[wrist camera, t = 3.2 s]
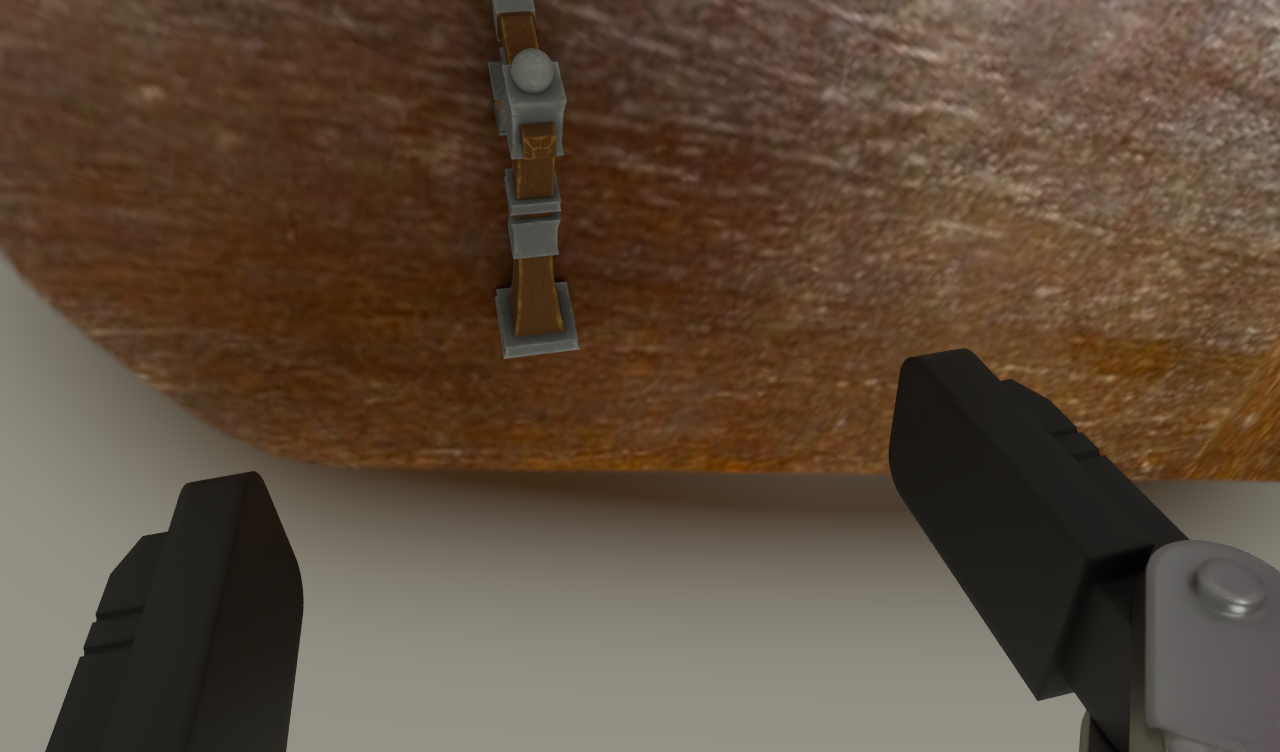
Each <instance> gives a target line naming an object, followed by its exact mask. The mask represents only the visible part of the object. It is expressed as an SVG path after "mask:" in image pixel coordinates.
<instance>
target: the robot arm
mask: <svg viewBox="0 0 1280 752" xmlns="http://www.w3.org/2000/svg"><path fill="white" fill-rule="evenodd" d="M1076 428H1077V427H1076V426H1075V425H1074V424H1073V423H1072V422H1071V421H1070V420H1069V419H1068V418H1067V417H1066V416H1065V415H1064V414H1063V413H1062V412H1061V411H1060V410H1059V409H1058V408H1057V407H1056V406H1055V405H1054V404H1053V403H1052V402H1051V401H1050V400H1049V399H1047V398H1045V397H1043V396H1041V395H1039V394H1038V393H1036V392H1034V391H1032V390H1030V389H1028V388H1027V387H1025V386H1023V385H1021V384H1019V383H1017V382H1016V381H1014V380H1012V379H1009V380H1004V381H1000V380H999V379H998V378H997V377H996V376H995V375H994V374H993V373H992V372H991V371H990V370H989V369H988V368H987V367H986V365H985V364H984V363H983V362H982V361H981V360H980V359H979V358H978V357H977V356H976V355H975V354H974V353H973V352H972V351H970V350H968V349H965V348H961V349H955V350H949V351H944V352H938V353H932V354H927V355H921V356H915V357H910V358H908V359H906V360H905V361H904V363H903V365H902V367H901V370H900V375H899V382H898V389H897V396H896V403H895V409H894V416H893V423H892V430H891V437H890V443H889V464H890V470H891V474H892V478H893V481H894V484H895V486H896V488H897V491H898V492H899V494H900V496H901V497H902V499H903V501H904V502H905V504H906V505H907V507H908V508H909V510H910V511H911V513H912V514H913V516H914V517H915V519H916V520H917V521H918V523H919V524H920V526H921V527H922V529H923V530H924V532H925V533H926V535H927V536H928V538H929V539H930V541H931V542H932V544H933V545H934V547H935V548H936V550H937V551H938V553H939V554H940V556H941V557H942V559H943V560H944V562H945V563H946V565H947V566H948V568H949V569H950V571H951V572H952V574H953V575H954V577H955V578H956V580H957V581H958V583H959V584H960V586H961V587H962V589H963V590H964V592H965V593H966V595H967V596H968V597H969V599H970V601H971V602H972V604H973V605H974V607H975V608H976V610H977V611H978V613H979V614H980V616H981V617H982V619H983V620H984V622H985V623H986V625H987V626H988V627H989V629H990V631H991V632H992V634H993V635H994V637H995V638H996V639H997V641H998V643H999V644H1000V646H1001V647H1002V648H1003V650H1004V652H1005V653H1006V655H1007V656H1008V658H1009V659H1010V661H1011V662H1012V664H1013V665H1014V666H1015V668H1016V670H1017V671H1018V673H1019V674H1020V676H1021V677H1022V679H1023V680H1024V682H1025V683H1026V684H1027V686H1028V688H1029V689H1030V690H1031V692H1032V693H1033V695H1034V696H1035V698H1036V699H1037V701H1040V700H1044V699H1048V698H1052V697H1056V696H1061V695H1065V694H1069V693H1072V692H1075V694H1076V695H1077V697H1078V698H1079V699H1080V701H1081V702H1082V703H1083V705H1084V706H1085V708H1086V709H1087V710H1086V712H1085V715H1084V717H1083V720H1082V725H1081V731H1080V746H1079V747H1080V748H1079V752H1280V572H1279V571H1278V570H1276V569H1275V568H1274V567H1272V566H1270V565H1269V564H1268V563H1266V562H1264V561H1263V560H1261V559H1259V558H1257V557H1255V556H1253V555H1251V554H1250V553H1247V552H1245V551H1242V550H1240V549H1237V548H1235V547H1231V546H1228V545H1225V544H1221V543H1216V542H1210V541H1202V540H1189V539H1188V538H1187V537H1186V536H1185V535H1184V534H1183V533H1182V532H1181V531H1180V530H1179V529H1178V528H1177V527H1176V526H1175V525H1174V524H1173V523H1172V522H1171V521H1170V520H1169V519H1168V518H1167V517H1166V516H1165V515H1164V514H1163V513H1162V512H1161V511H1160V510H1159V509H1158V508H1157V507H1156V506H1155V505H1154V504H1153V503H1152V502H1151V501H1150V500H1149V499H1148V498H1147V497H1146V496H1145V495H1144V494H1143V493H1142V492H1141V491H1140V490H1139V489H1138V488H1137V487H1136V486H1135V485H1134V484H1133V483H1132V482H1131V481H1130V480H1129V479H1128V478H1127V477H1126V476H1125V475H1124V474H1123V473H1122V472H1121V471H1120V470H1119V469H1118V468H1117V467H1116V466H1115V465H1114V464H1113V463H1112V462H1111V461H1110V460H1109V459H1108V458H1107V457H1106V456H1105V455H1103V456H1101V455H1100V454H1099V449H1098V448H1097V447H1096V446H1095V445H1094V444H1093V443H1092V442H1091V441H1090V440H1089V439H1088V438H1087V437H1086V436H1085V435H1084V434H1083V433H1078V432H1077V429H1076ZM303 603H304V602H303V587H302V580H301V574H300V570H299V566H298V563H297V560H296V557H295V555H294V553H293V550H292V548H291V545H290V543H289V540H288V538H287V536H286V533H285V531H284V528H283V526H282V524H281V521H280V519H279V516H278V514H277V511H276V509H275V507H274V505H273V502H272V499H271V497H270V494H269V492H268V490H267V487H266V485H265V483H264V481H263V479H262V477H261V476H260V475H259V474H258V473H257V472H254V471H252V472H246V473H241V474H236V475H229V476H224V477H218V478H212V479H207V480H201V481H195V482H190V483H187V484H186V485H184V487H183V488H182V490H181V493H180V495H179V498H178V501H177V505H176V508H175V511H174V514H173V518H172V521H171V524H170V527H169V530H168V532H163V533H158V534H152V535H146V536H142V538H141V539H140V540H139V541H138V542H137V543H136V545H135V546H134V547H133V548H132V549H131V550H130V552H129V553H128V554H127V555H126V556H125V558H124V559H123V560H122V561H121V562H120V564H119V565H118V566H117V567H116V568H115V569H114V571H113V572H112V573H111V574H110V577H109V579H108V582H107V585H106V587H105V590H104V593H103V596H102V598H101V601H100V604H99V607H98V609H97V612H96V618H97V621H96V622H94V623H92V626H91V628H90V631H89V634H88V637H87V640H86V642H85V645H84V648H83V649H84V656H83V657H80V658H79V661H78V664H77V667H76V669H75V672H74V675H73V678H72V680H71V683H70V686H69V689H68V691H67V694H66V697H65V699H64V702H63V705H62V708H61V710H60V713H59V716H58V719H57V722H56V724H55V727H54V730H53V732H52V735H51V738H50V740H49V743H48V746H47V749H46V751H45V752H286V747H287V739H288V731H289V723H290V714H291V707H292V698H293V691H294V682H295V674H296V666H297V658H298V649H299V642H300V634H301V626H302V618H303Z"/></svg>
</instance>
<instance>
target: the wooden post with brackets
mask: <svg viewBox="0 0 1280 752" xmlns="http://www.w3.org/2000/svg"><path fill="white" fill-rule="evenodd" d="M492 3H493V18H494V23H495V29H496V34H497V40H498V42H502V43H503V47H502V48H500V53H501V59H502V61H494V62H488V68H489V73H490V79H491V85H492V91H493V97H494V100H496V103H494V109H495V114H496V120H497V126H498V132H499V136H505V135H507V140H508V145H509V151H510V156H511V159H512V168H508V169H505V173H506V176H505V177H504V179H505V185H506V188H505V190H506V196H507V202H508V208H509V220H508V224H507V225H508V231H509V237H510V243H511V249H512V255H513V259H514V267H513V278H512V285H511V288H504V289H496V292H497V297H495V301H496V308H497V315H498V322H499V328H500V335H501V342H502V349H503V355H504V359H505V358H513V357H521V356H529V355H538V354H546V353H554V352H562V351H570V350H578V349H580V347H579V342H578V336H577V331H576V326H575V321H574V316H573V311H572V306H571V301H570V297H569V292H568V287H567V282H559V283H555V281H554V275H553V258H552V255H559V252H558V247H557V234H558V226H559V223H560V221H561V218H560V213H559V211H562V210H561V205H560V203H561V198H560V193H559V188H558V183H557V178H556V174H555V169H554V167H555V157H557V156H559V155H564V153H563V147H562V131H563V112H564V109H565V106H566V103H567V101H566V97H565V92H564V88H563V84H562V80H561V75H560V71H559V67H558V63H557V62H551V60H550V58H549V57H548V55H547V54H546V53H544V52H543V51H541V50H539V48H538V43H537V38H536V21H535V7H534V2H533V0H492Z"/></svg>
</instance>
